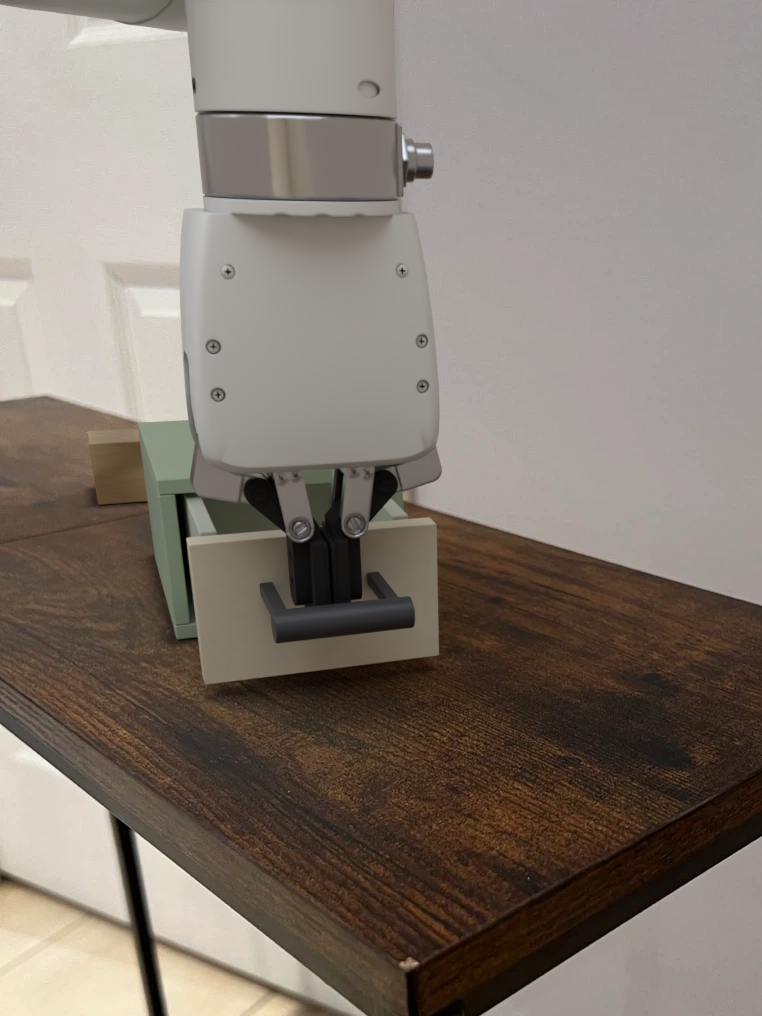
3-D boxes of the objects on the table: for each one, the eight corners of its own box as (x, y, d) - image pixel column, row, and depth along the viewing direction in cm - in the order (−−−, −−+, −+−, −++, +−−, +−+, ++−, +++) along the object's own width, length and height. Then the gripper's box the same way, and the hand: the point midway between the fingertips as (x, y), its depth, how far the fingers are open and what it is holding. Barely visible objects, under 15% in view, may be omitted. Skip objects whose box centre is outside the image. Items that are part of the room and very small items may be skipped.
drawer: (474, 701, 53) (474, 559, 50) (220, 737, 49) (203, 585, 46) (374, 573, 69) (369, 460, 66) (177, 592, 65) (162, 473, 62)
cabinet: (406, 614, 65) (402, 463, 61) (176, 640, 61) (156, 479, 57) (350, 541, 77) (343, 411, 74) (155, 558, 73) (137, 422, 69)
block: (98, 505, 84) (88, 443, 82) (95, 490, 88) (87, 430, 86) (162, 500, 86) (154, 439, 84) (157, 485, 89) (149, 427, 87)
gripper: (456, 174, 50) (459, 575, 58) (92, 166, 45) (150, 606, 53) (515, 178, 44) (509, 627, 52) (99, 169, 39) (164, 667, 47)
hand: (327, 615), depth 52 cm, fingers closed
